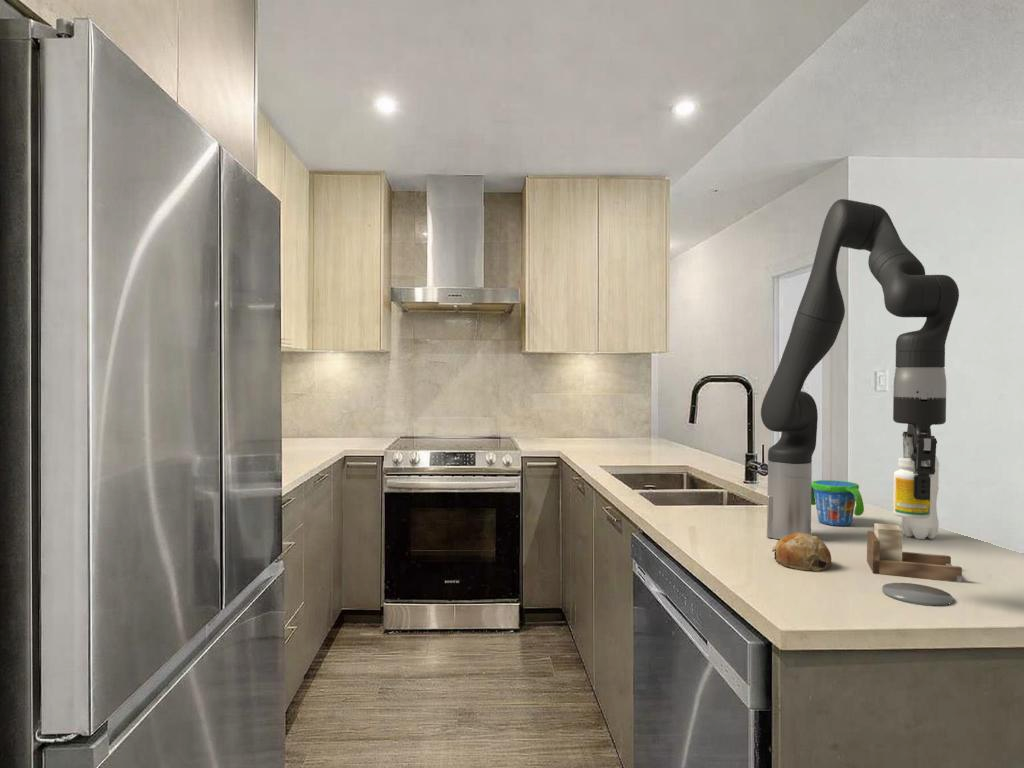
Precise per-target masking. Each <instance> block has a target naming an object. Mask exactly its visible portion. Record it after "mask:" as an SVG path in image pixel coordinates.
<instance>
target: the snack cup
mask: <svg viewBox="0 0 1024 768" xmlns="http://www.w3.org/2000/svg"><path fill="white" fill-rule="evenodd" d="M859 489H860V486H859V484H858V483H856V482H852V481H845V480H833V479H822V480H821V479H818V480H813V481H812V482H811V506H814V505H815V508H816V513H817V519H818V523H821V524H824V525H828V524H829V526H834V525H835V526H836V527H837V526H838V527H842V526H843V527H847V526H849V525H851V524H852V522H853V518H854V517H853V516H854V515H855V516H857V517H858V516H862V515H863V513H864V512H865V505H864V502H863V497H862V494H861V492H860V490H859Z"/></svg>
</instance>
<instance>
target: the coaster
mask: <svg viewBox="0 0 1024 768" xmlns="http://www.w3.org/2000/svg"><path fill="white" fill-rule="evenodd" d="M881 588H882V589H881V590H882V593H883V594H884V595H885V596H888V597H889V598H892V599H894V600H898V601H901V602H904V603H908V604H913V603H914V604H915V605H919V604H922V605H921V606H927V605H944V606H946V605H945V604H949V603H951V602H952V603H953V596H952V595H951V594H950V593H949V592H947V591H946V590H943V589H939V588H936V587H933V586H928V585H923V584H919V583H912V582H911V583H910V582H889V583H885V584H884V585H882V587H881ZM952 603H951V604H952ZM924 604H925V605H924ZM949 605H950V604H949Z"/></svg>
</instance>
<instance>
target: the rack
mask: <svg viewBox="0 0 1024 768" xmlns="http://www.w3.org/2000/svg"><path fill="white" fill-rule="evenodd" d="M873 525H874V527H873V528H874V531H873V530H867V531H866V534H867V535H866V562H867V564H868V566H869V568H870V570H871V572H872V574H876V575H884V576H885V575H886V576H897V577H904V578H905V577H906V578H915V579H924V578H925V580H934V579H936V580H935V581H944V580H948V581H947V582H954V581H956V582H955V583H963V567H961V566H953V565H952V564H951V563H952V559H951V558H952V556H950V555H945V554H933V553H924V552H922V553H921V552H910V551H903V533H904V531H903V528H901V527H900V526H899V525H898V524H889V523H888V524H887V523H874V524H873ZM937 579H939V580H937Z"/></svg>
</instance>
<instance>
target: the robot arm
mask: <svg viewBox="0 0 1024 768" xmlns="http://www.w3.org/2000/svg"><path fill="white" fill-rule="evenodd" d="M822 225H823V226H822V228H821V232H820V236H819V239H818V240H819V241H818V244H817V248H816V250H815V251H816V253H815V255H814V261H813V264H812V267H811V270H810V273H809V277H808V281H807V284H806V287H805V289H804V292H803V295H802V298H801V300H800V302H799V305H798V309H797V311H796V314H795V317H794V320H793V323H792V327H791V330H790V333H789V336H788V340H787V342H786V345H785V347H784V351H783V353H782V356H781V359H780V361H779V364H778V366H777V369H776V371H775V373H774V375H773V378H772V380H771V382H770V384H769V387H768V389H767V391H766V393H765V395H764V398H763V400H762V402H761V403H762V404H761V408H760V418H761V421H762V425H764V427H765V428H766V429H768V431H771V432H777V433H779V432H780V433H781V434H780V438H779V440H778V441H777V442H776V443H775V444H773V445H772V446H770V447H769V448H768V451H767V498H766V499H767V503H766V504H767V505H766V507H767V509H766V510H767V511H766V512H767V513H766V514H767V515H766V517H767V518H766V519H767V520H766V537H767V538H772V539H775V540H781V539H782V538H783V537H785V536H787V535H790V534H792V533H798V532H799V533H806V534H810V535H812V505H811V484H812V482H813V481H812V475H813V474H812V473H813V472H812V470H813V469H812V468H813V465H812V462H813V455H814V453H815V450H816V446H817V435H818V434H817V433H818V420H819V419H818V417H819V416H818V407H817V404H816V403H817V402H816V401H815V399H814V397H813V396H812V395H811V394H810V393H808V392H806V391H802V389H803V386H804V384H805V383H806V382H805V381H806V380H807V378H808V377H809V375H810V373H811V372H812V371H813V370H814V368H815V367H816V366H817V365H819V363H820V362H821V361H822V360H823V358H825V356H826V355H827V354H828V352H829V351H830V350H831V349H832V347H833V346H834V344H835V342H836V340H837V338H838V335H839V333H840V330H841V327H842V324H843V321H844V318H845V314H846V306H845V301H844V297H843V294H842V290H841V287H840V284H839V279H838V274H837V273H838V272H837V266H838V265H837V264H838V260H839V253H840V250H841V247H842V248H847V249H853V250H857V251H862V250H863V251H867V252H870V253H869V255H868V261H867V263H868V268H869V271H870V273H871V275H872V276H873V278H874V279H876V281H877V282H878V283H879V285H880V286H881V289H882V293H883V302H884V307H885V310H886V311H887V312H889V314H892V316H895V317H899V318H926V319H925V322H924V324H923V325H922V327H921V328H920V329H918V330H914V331H908V332H907V331H906V332H904V333H902V334H899V335H898V336H897V337H896V342H895V368H894V369H895V371H894V375H893V376H894V378H893V397H892V398H893V402H892V403H893V404H892V406H893V407H892V411H893V412H892V419H893V421H894V422H895V423H897V424H905V425H907V429H906V431H903V433H902V434H901V435H902V446H903V448H902V449H903V458H909V461H910V462H911V463H913V474H914V498H915V499H918V500H929V499H930V477H932V475H934V473H935V458H936V457H937V455H936V453H937V444H938V440H937V438H936V437H935V435H932V429H931V428H932V427H931V426H932V425H935V426H936V425H938V426H939V425H940V426H941V425H944V424H946V421H947V377H946V368H945V366H946V342H947V339H948V335H949V331H950V328H951V325H952V322H953V318H954V315H955V312H956V310H957V307H958V303H959V299H960V290H959V287H958V285H957V282H956V281H955V279H953V278H952V277H951V276H949V275H947V274H926V269H925V266H924V265H923V263H922V262H921V261H920V259H919V258H917V257H916V255H915V254H913V253H912V251H910V249H908V247H906V245H905V244H904V243H903V241H902V239H901V237H900V235H899V232H898V230H897V229H896V227H895V225H894V223H893V221H892V218H891V217H890V215H889V213H888V212H887V210H885V208H883V207H881V206H879V205H877V204H872V203H868V202H861V201H857V200H852V199H846V198H841V199H837V200H836V201H834V202H833V204H832V205H831V206H830V207H829V209H828V212H827V214H826V216H825V218H824V222H823V224H822ZM921 463H925V464H926V465H927V467H925V466H921Z"/></svg>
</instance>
